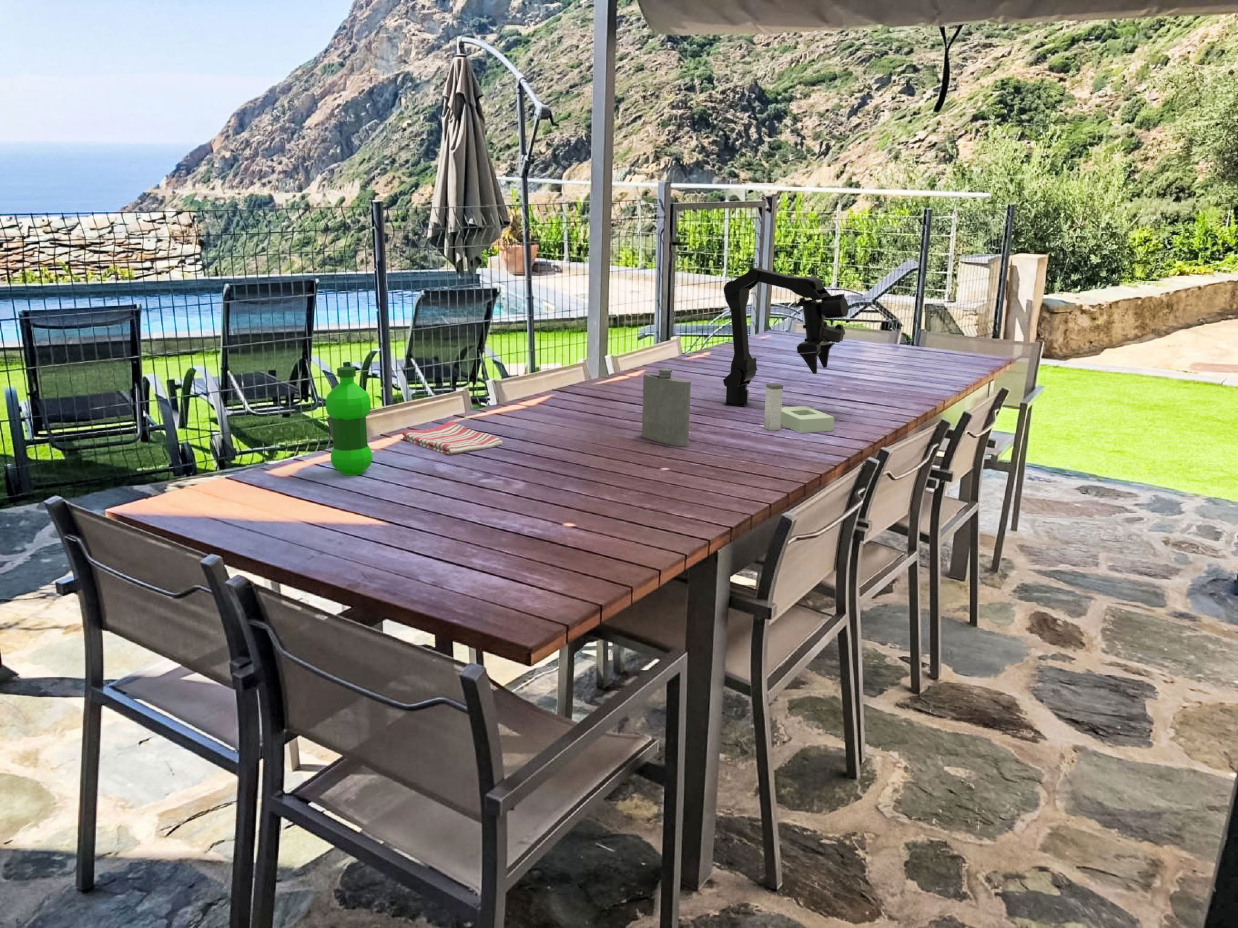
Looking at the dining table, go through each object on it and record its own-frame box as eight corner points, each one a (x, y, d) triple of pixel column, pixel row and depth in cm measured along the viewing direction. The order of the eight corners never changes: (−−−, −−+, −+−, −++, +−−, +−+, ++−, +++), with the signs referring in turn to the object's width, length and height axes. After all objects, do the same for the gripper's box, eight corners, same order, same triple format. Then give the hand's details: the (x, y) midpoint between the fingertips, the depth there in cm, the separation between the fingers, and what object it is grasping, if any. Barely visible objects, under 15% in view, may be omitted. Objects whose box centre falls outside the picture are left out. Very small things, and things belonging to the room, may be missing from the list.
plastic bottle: (321, 475, 224) (313, 370, 217) (348, 464, 233) (342, 363, 227) (356, 480, 220) (350, 373, 214) (383, 469, 230) (377, 366, 223)
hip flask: (690, 445, 257) (693, 371, 252) (681, 447, 255) (683, 373, 249) (647, 434, 268) (649, 364, 263) (637, 436, 265) (639, 365, 260)
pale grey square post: (763, 427, 278) (766, 383, 275) (774, 427, 279) (777, 383, 276) (769, 430, 275) (772, 386, 271) (780, 429, 276) (783, 385, 273)
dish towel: (452, 431, 270) (452, 419, 269) (503, 447, 254) (503, 434, 253) (400, 441, 258) (399, 428, 257) (450, 458, 242) (450, 445, 241)
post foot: (772, 421, 287) (773, 408, 286) (804, 418, 290) (805, 405, 289) (800, 433, 272) (801, 419, 271) (833, 430, 276) (834, 417, 275)
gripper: (829, 322, 276) (835, 375, 279) (849, 312, 291) (855, 362, 294) (793, 326, 282) (799, 377, 285) (814, 316, 297) (820, 365, 300)
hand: (820, 370), depth 291 cm, fingers open, 9 cm apart
